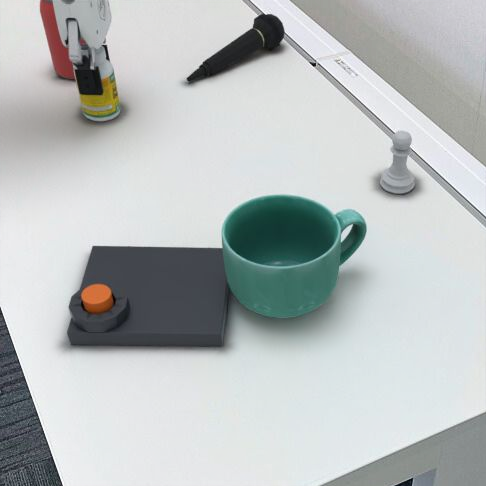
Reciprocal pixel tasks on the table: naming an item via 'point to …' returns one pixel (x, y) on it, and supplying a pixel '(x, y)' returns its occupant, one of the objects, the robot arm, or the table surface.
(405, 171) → the chess piece
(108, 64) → the supplement bottle
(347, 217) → the mug
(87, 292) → the button
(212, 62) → the microphone
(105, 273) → the scale
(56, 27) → the beer can
